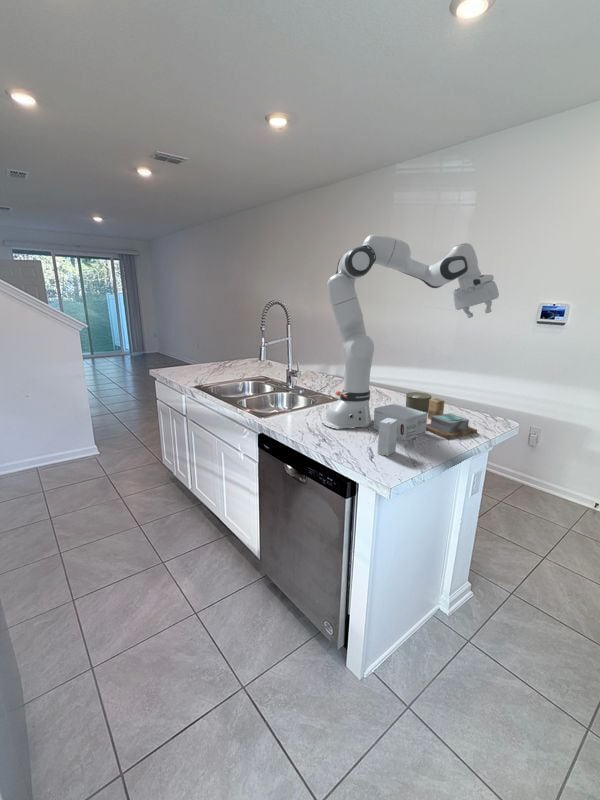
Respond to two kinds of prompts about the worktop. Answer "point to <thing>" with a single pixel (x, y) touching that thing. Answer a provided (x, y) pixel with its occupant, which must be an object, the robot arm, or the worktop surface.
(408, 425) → the supplement box
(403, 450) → the worktop surface
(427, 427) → the build base
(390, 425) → the skincare box
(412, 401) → the can
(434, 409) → the oak pillar
